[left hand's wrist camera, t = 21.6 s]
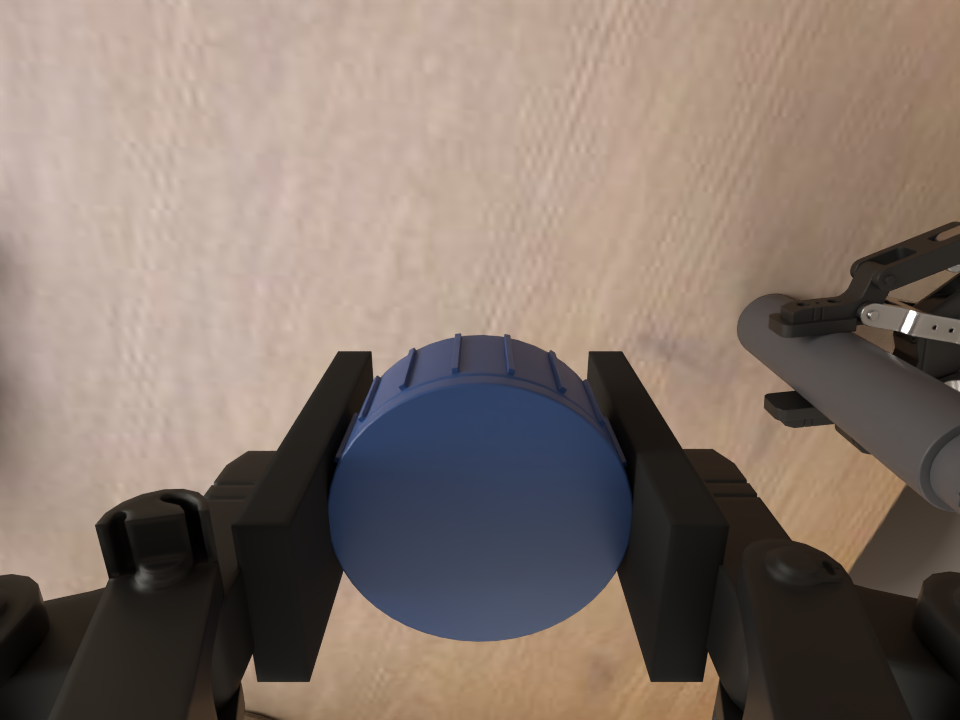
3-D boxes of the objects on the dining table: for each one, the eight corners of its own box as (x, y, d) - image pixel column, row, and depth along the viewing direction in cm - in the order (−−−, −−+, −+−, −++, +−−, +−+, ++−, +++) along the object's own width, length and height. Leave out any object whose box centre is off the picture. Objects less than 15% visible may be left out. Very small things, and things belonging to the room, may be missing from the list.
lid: (599, 560, 13) (622, 647, 11) (356, 556, 13) (332, 643, 11) (623, 333, 11) (657, 383, 9) (341, 328, 11) (308, 377, 9)
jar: (727, 311, 40) (945, 475, 21) (790, 282, 39) (1073, 424, 21) (748, 365, 41) (971, 563, 23) (810, 337, 40) (1091, 518, 22)
